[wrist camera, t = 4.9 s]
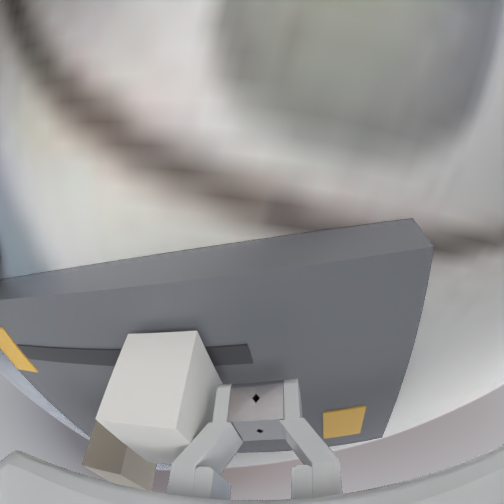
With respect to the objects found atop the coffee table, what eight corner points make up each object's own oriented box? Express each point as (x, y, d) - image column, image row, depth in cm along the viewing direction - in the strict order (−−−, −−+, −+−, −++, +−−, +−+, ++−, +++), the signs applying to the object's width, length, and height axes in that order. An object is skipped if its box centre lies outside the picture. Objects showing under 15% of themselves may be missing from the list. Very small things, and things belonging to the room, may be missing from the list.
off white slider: (197, 330, 11) (175, 428, 8) (224, 388, 13) (215, 468, 10) (128, 333, 11) (95, 418, 8) (165, 388, 14) (147, 461, 10)
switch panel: (412, 218, 11) (435, 248, 9) (377, 414, 19) (381, 438, 18) (-18, 282, 14) (-35, 303, 12) (94, 418, 23) (88, 437, 21)
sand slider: (134, 419, 16) (120, 474, 13) (160, 444, 18) (151, 492, 15) (98, 414, 17) (82, 464, 13) (126, 439, 19) (114, 484, 16)
